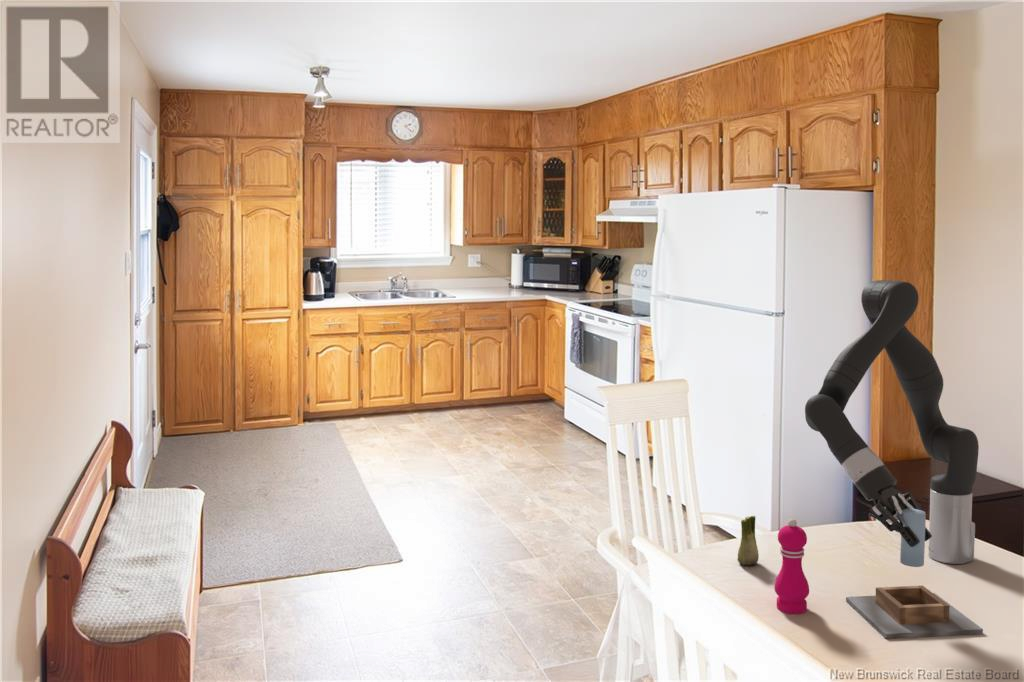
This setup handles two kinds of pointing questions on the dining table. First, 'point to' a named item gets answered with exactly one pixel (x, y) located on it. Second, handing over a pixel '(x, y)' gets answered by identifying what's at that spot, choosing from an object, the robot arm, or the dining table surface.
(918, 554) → the post
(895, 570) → the dining table surface
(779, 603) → the pepper mill
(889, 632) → the wooden frame tray
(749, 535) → the fennel bulb
